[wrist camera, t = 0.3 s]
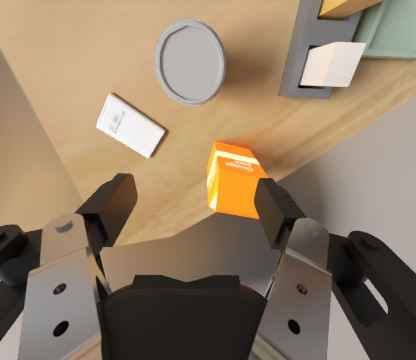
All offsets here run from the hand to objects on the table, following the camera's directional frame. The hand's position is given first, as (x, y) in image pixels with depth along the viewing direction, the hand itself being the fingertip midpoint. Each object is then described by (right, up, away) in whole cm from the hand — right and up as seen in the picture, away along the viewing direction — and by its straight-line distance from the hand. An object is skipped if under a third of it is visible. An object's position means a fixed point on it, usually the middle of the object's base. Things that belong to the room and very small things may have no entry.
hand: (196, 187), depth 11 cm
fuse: (+19, +22, +20) cm, 35 cm away
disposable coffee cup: (-2, +21, +20) cm, 30 cm away
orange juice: (+6, +6, +30) cm, 31 cm away
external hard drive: (-16, +12, +26) cm, 33 cm away
